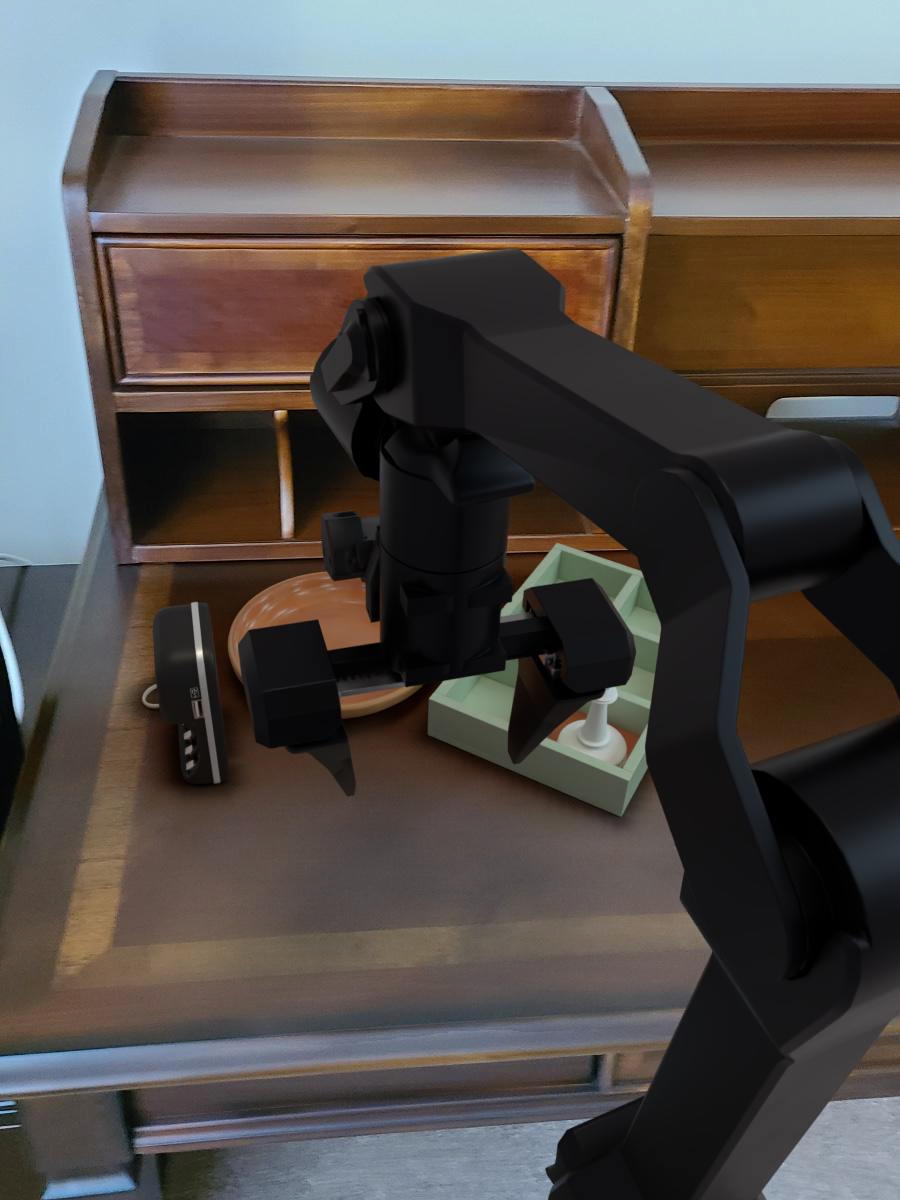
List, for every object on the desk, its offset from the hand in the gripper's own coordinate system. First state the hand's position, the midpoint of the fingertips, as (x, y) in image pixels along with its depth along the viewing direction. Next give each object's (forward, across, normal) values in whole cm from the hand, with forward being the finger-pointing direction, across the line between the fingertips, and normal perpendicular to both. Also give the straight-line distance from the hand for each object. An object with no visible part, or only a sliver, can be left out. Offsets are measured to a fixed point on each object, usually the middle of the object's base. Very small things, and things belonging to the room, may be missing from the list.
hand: (432, 773), depth 57 cm
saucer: (+12, +1, -23) cm, 26 cm away
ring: (+12, +14, -22) cm, 29 cm away
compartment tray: (+12, -17, -16) cm, 26 cm away
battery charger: (+12, +12, -16) cm, 23 cm away
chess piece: (+11, -14, -9) cm, 20 cm away
